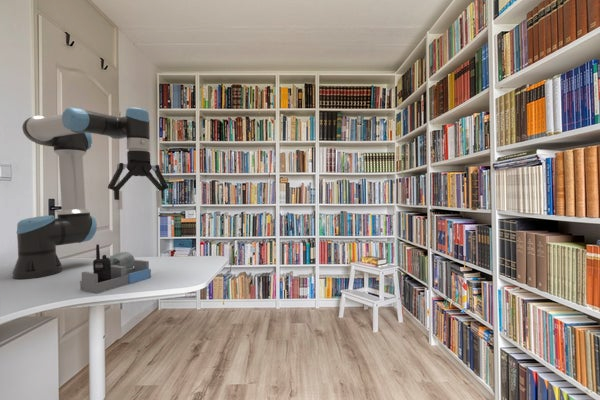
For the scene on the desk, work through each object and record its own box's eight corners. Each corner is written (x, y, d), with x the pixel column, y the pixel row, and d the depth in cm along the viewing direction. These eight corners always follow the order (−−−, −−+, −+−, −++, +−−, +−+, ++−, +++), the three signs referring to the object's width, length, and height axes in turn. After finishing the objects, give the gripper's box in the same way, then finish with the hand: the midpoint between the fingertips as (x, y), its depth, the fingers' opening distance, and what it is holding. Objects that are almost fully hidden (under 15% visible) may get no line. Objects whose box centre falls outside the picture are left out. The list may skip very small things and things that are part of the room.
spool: (120, 269, 113) (113, 246, 116) (98, 281, 114) (92, 257, 117) (144, 269, 127) (137, 248, 129) (125, 279, 127) (118, 258, 130)
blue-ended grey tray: (80, 289, 100) (79, 272, 100) (135, 274, 119) (134, 259, 118) (98, 293, 96) (97, 275, 96) (152, 277, 115) (151, 261, 114)
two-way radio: (91, 289, 101) (89, 245, 101) (100, 285, 105) (99, 242, 105) (107, 289, 101) (105, 244, 100) (115, 285, 105) (114, 242, 105)
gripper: (102, 146, 99) (104, 210, 100) (176, 152, 117) (177, 206, 118) (96, 149, 104) (98, 209, 105) (168, 154, 122) (169, 206, 123)
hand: (140, 208), depth 111 cm, fingers open, 13 cm apart
